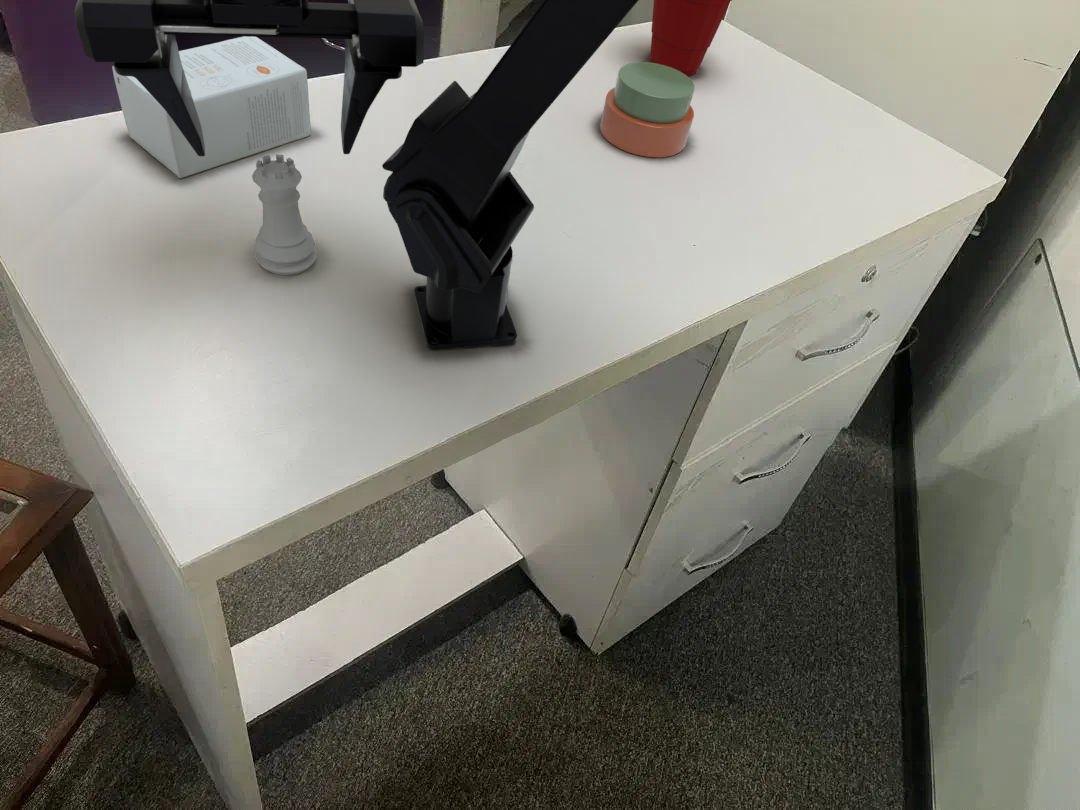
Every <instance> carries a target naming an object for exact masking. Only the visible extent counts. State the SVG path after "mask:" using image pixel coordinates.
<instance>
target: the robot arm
mask: <svg viewBox="0 0 1080 810" xmlns="http://www.w3.org/2000/svg"><path fill="white" fill-rule="evenodd" d="M347 2H348V3H339V2H338V3H337V2H313V1H309V0H77V1H76V4H75V7H74V8H75V9H74V19H75V27H76V31H77V34H78V38H79V42H80V45H81V48H82V51H83V55H84V57H85V58H86V59H88V60H90V61H92V62H95V63H113V64H112V66H114V68H115V71H116V73H117V74H119V75H121V76H132V77H135V78H136V79H137V80H138V81H139V82H140V83H141V84H142V85H143V87H144V88H145V89H146V90H147V91H148V92H149V93H150V94H151V95H152V96H153V97H154V98H155V100H156V101H157V102H158V103H159V104H160V105H161V106H162V107H163V108H164V109H165V111H166V112H167V113H168V115H169V116H170V117H171V119H172V120H173V121H174V123H175V124H176V125H177V127H178V128H179V130H180V131H181V132H182V134H183V135H184V137H185V138H186V139H187V141H188V142H189V144H190V145H191V147H192V148H193V149H194V151H195V152H196V154H197V155H198V156H205V145H204V139H203V133H202V128H201V124H200V121H199V117H198V114H197V111H196V108H195V105H194V102H193V98H192V95H191V92H190V89H189V86H188V83H187V79H186V76H185V73H184V70H183V67H182V63H181V60H180V55H179V51H180V50H179V46H178V42H177V37H176V36H206V37H207V36H211V37H212V36H213V37H243V36H247V37H257V38H291V39H292V38H293V39H294V38H295V39H296V38H297V39H329V40H331V39H332V40H334V39H335V40H344V71H343V72H344V73H343V86H342V87H343V88H342V99H341V101H342V102H341V104H342V105H341V115H340V116H341V117H340V136H341V137H340V138H341V147H342V152H343V155H350V154H351V152H352V149H353V146H354V145H355V142H356V141H357V140H356V139H357V137H358V135H359V132H360V130H361V127H362V125H363V123H364V120H365V118H366V115H367V114H368V111H369V110H370V108H371V106H372V105H373V103H374V101H375V99H376V98H377V97H378V95H379V94H380V91H381V90H382V88H383V87H384V85H385V83H386V81H388V80H398V79H401V77H402V75H403V67H404V68H416V67H418V66H420V65H422V64H424V56H425V55H424V54H425V32H424V31H425V30H424V21H423V19H422V17H421V14H420V11H419V9H418V7H417V4H416V2H415V0H347ZM638 2H639V0H542V2H541V3H540V4H539V6H538V7H537V9H536V10H535V11H534V13H533V14H532V15H531V17H530V18H529V19H528V21H527V22H526V24H525V25H524V26H523V28H521V31H520V32H519V33H518V35H517V36H516V37H515V39H514V40H513V41H512V42H511V44H510V45H509V46H508V48H507V50H506V51H505V52H504V54H503V55H502V56H501V57H500V58H499V60H498V62H497V63H496V64H495V66H494V67H493V69H492V70H491V71H490V73H489V74H488V75H487V77H486V78H485V80H484V81H483V82H482V84H481V85H480V86H479V88H478V89H477V90H476V91H475V92H474V93H473V94H472V95H471V96H469V94H468V93H467V92H466V91H465V90H464V89H463V87H462V86H461V85H460V84H459V82H457V81H456V80H453V81H452V82H451V83H450V84H449V85H448V86H447V87H446V88H445V89H444V90H443V91H442V92H441V93H440V94H439V95H438V96H437V97H436V98H435V99H434V100H433V101H432V102H431V103H430V104H429V105H428V106H427V107H426V108H425V109H424V110H423V111H421V113H419V115H418V116H416V118H415V119H414V120H413V122H412V124H411V126H410V128H409V130H408V131H407V134H406V136H405V139H404V142H403V143H402V144H401V145H400V146H399V147H398V148H397V149H396V150H394V152H393V153H392V154H391V155H390V156H389V157H388V159H386V161H384V162H383V163H382V165H381V167H382V169H383V170H385V171H388V172H391V174H390V175H389V176H388V177H387V179H386V181H385V183H384V186H383V193H382V197H383V200H384V201H385V202H386V204H387V209H388V212H389V213H390V215H391V216H392V219H393V220H394V222H395V223H396V225H397V227H398V230H399V233H400V236H401V239H402V242H403V245H404V248H405V251H406V253H407V256H408V259H409V262H410V265H411V268H412V271H413V272H414V273H416V274H417V275H421V276H424V277H426V282H425V283H426V285H418V286H416V287H414V289H413V296H414V300H415V304H416V309H417V312H418V316H419V321H420V324H421V329H422V332H423V337H424V340H425V345H426V347H427V349H429V350H431V351H432V350H433V351H438V350H450V349H463V348H476V347H487V346H498V345H499V346H500V345H501V346H502V345H510V344H511V345H513V344H515V343H517V340H518V333H517V330H516V327H515V324H514V322H513V318H512V315H511V313H510V311H509V308H508V305H507V297H508V290H509V283H510V277H511V268H512V263H513V262H512V261H513V246H512V244H513V243H514V241H515V239H516V238H517V236H518V235H519V233H520V232H521V231H522V229H523V227H524V225H525V224H526V222H527V221H528V219H529V218H530V216H531V214H532V213H533V211H534V209H535V205H534V204H533V202H532V200H531V199H530V197H529V196H528V195H527V194H526V192H525V190H524V189H523V188H522V187H521V185H520V184H519V182H518V181H517V179H516V178H515V176H514V175H513V174H512V172H511V170H512V168H513V166H514V164H515V163H516V161H517V159H518V157H519V156H520V153H521V152H522V149H523V147H524V145H525V142H526V140H527V138H528V136H529V133H530V131H531V129H532V128H533V127H534V126H535V125H536V124H537V122H538V121H539V120H540V118H541V117H542V116H543V115H544V114H545V112H547V110H548V109H549V108H550V106H552V104H553V103H554V102H555V100H556V99H557V98H559V96H560V95H561V94H562V92H563V91H564V90H565V89H566V88H567V87H568V85H569V84H571V82H572V81H573V79H574V78H575V77H576V76H577V74H578V73H580V71H581V70H582V68H584V66H585V65H586V64H587V62H589V60H590V59H591V58H592V57H593V55H594V54H595V53H596V52H597V51H598V49H600V47H601V46H602V45H603V44H604V42H605V41H606V40H607V39H608V37H610V35H611V34H613V31H614V30H615V29H616V28H617V27H618V26H619V24H620V23H621V22H622V21H623V19H624V18H625V17H626V16H627V15H628V14H629V12H630V11H631V10H632V9H633V8H634V7H635V6H636V4H637V3H638Z"/></svg>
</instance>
